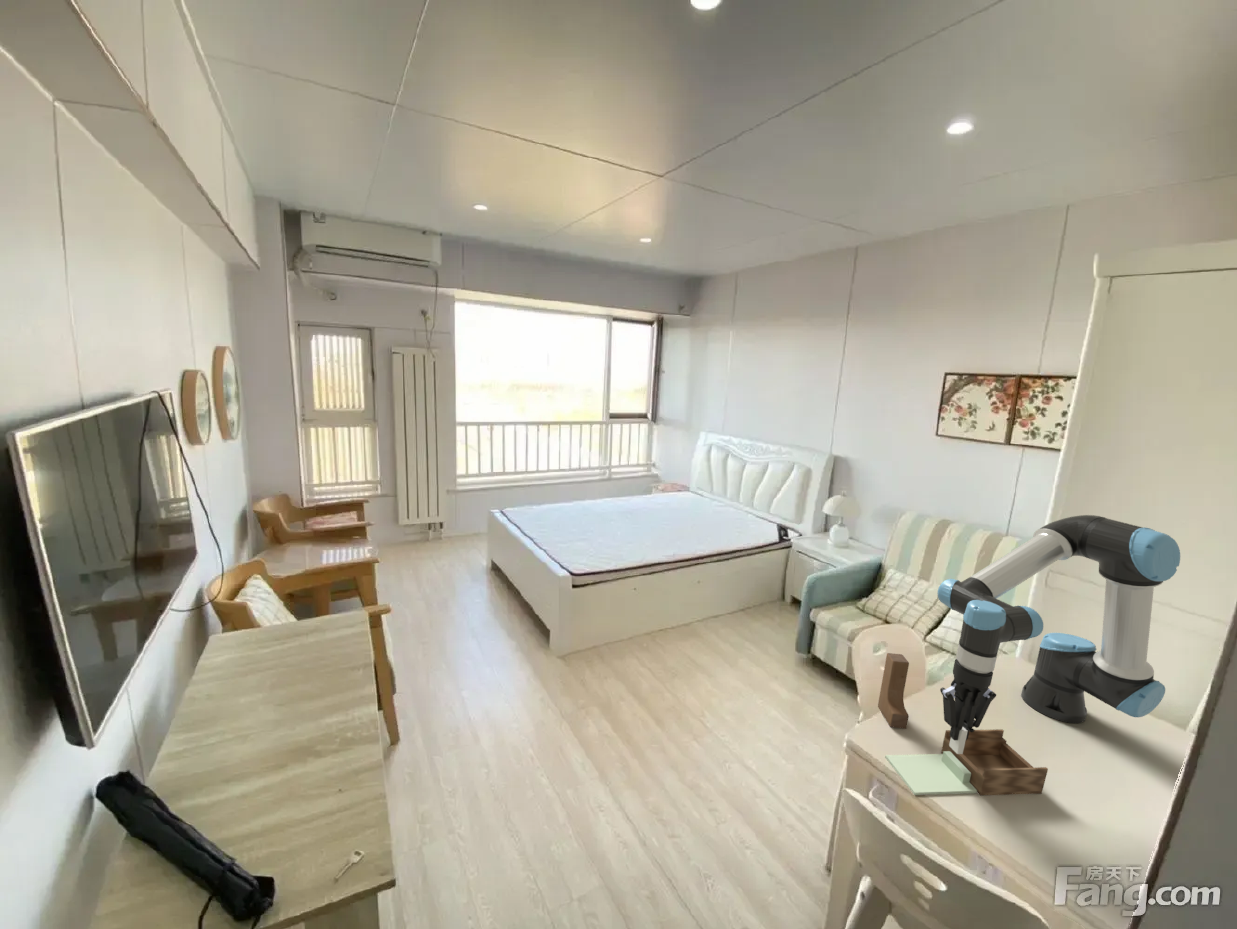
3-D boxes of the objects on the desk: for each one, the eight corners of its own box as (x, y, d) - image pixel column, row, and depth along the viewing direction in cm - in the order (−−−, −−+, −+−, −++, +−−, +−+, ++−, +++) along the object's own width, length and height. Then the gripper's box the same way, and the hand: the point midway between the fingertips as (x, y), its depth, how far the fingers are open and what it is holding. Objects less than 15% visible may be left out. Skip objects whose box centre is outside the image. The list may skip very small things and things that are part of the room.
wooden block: (906, 729, 138) (917, 672, 135) (890, 727, 139) (900, 670, 135) (892, 708, 147) (902, 653, 144) (877, 706, 148) (886, 652, 144)
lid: (942, 757, 129) (944, 744, 129) (976, 795, 118) (979, 780, 118) (884, 759, 128) (887, 745, 127) (913, 796, 117) (916, 782, 116)
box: (997, 752, 132) (1002, 729, 130) (1041, 793, 119) (1048, 769, 118) (941, 753, 130) (945, 730, 129) (980, 795, 118) (985, 770, 116)
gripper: (986, 655, 122) (968, 738, 127) (937, 655, 121) (920, 739, 125) (1012, 674, 114) (992, 761, 119) (960, 674, 113) (942, 762, 118)
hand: (955, 749), depth 122 cm, fingers closed
